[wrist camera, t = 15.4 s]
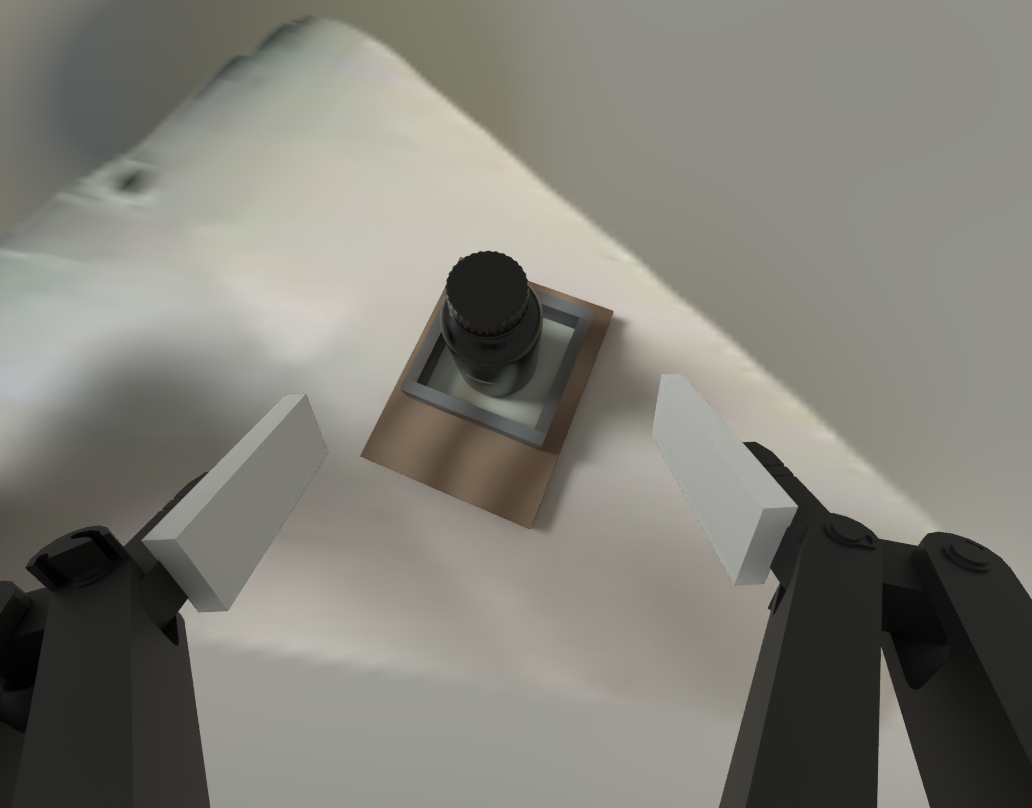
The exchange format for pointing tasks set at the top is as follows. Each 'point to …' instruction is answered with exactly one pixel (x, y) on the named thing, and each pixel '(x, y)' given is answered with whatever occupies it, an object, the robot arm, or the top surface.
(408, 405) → the base board
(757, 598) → the top surface
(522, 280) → the supplement bottle
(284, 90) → the top surface
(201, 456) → the top surface
